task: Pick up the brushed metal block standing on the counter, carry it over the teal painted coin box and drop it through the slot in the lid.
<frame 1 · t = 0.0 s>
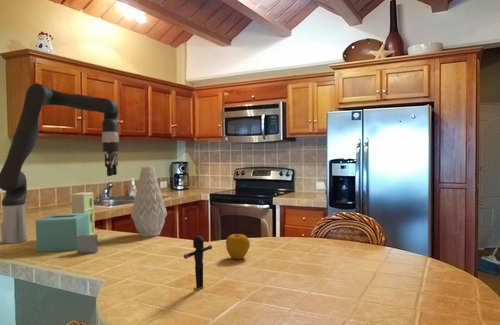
hand: (112, 175, 181), 29 cm above the kitchen counter, fingers open, 8 cm apart
vase: (149, 235, 182), on the kitchen counter
apple: (238, 258, 137), on the kitchen counter
figurine: (199, 289, 107), on the kitchen counter
coin box: (64, 246, 164), on the kitchen counter
brushed metal block: (87, 252, 152), on the kitchen counter
toy refrigerator: (84, 236, 184), on the kitchen counter
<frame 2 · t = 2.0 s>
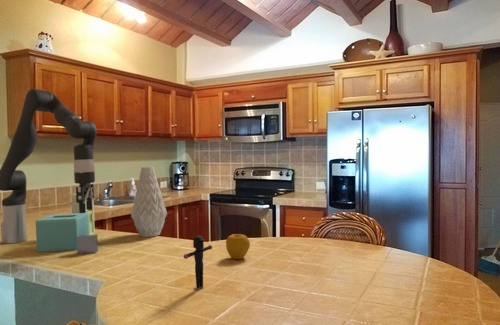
hand: (86, 211, 151), 17 cm above the kitchen counter, fingers open, 8 cm apart
nothing on the kitchen counter moved.
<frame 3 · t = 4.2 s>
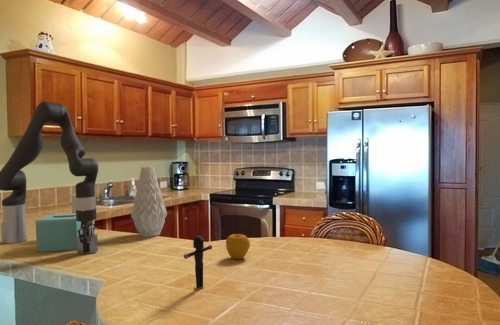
hand: (87, 251, 152), 1 cm above the kitchen counter, fingers closed on brushed metal block, 3 cm apart
brushed metal block: (87, 252, 152), on the kitchen counter, touching gripper
everything else where it was.
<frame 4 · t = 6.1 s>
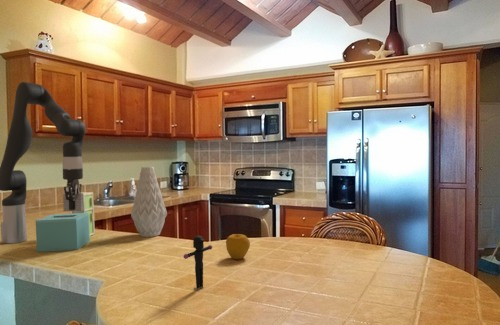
hand: (73, 209, 157), 17 cm above the kitchen counter, fingers closed on brushed metal block, 3 cm apart
brushed metal block: (73, 210, 157), point 16 cm above the kitchen counter, touching gripper
everything else where it was.
when the fingers open (14 cm above the kitchen counter, at t = 8.2 s): brushed metal block drops 12 cm and tips over, resting on coin box.
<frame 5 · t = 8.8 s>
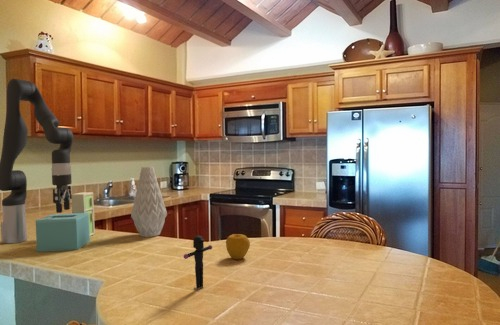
hand: (63, 211, 164), 15 cm above the kitchen counter, fingers open, 8 cm apart
brushed metal block: (63, 242, 163), point 2 cm above the kitchen counter, tilted 52°, touching coin box
everything else where it was.
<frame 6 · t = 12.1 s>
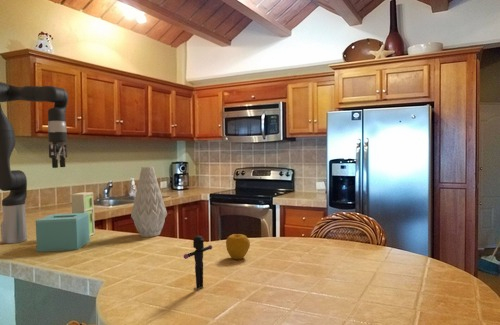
hand: (59, 167, 171), 34 cm above the kitchen counter, fingers open, 8 cm apart
nothing on the kitchen counter moved.
at the end: brushed metal block inside the target area on the coin box (0.8 cm from its centre), point 2.0 cm above the coin box's base; the gripper is holding nothing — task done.
